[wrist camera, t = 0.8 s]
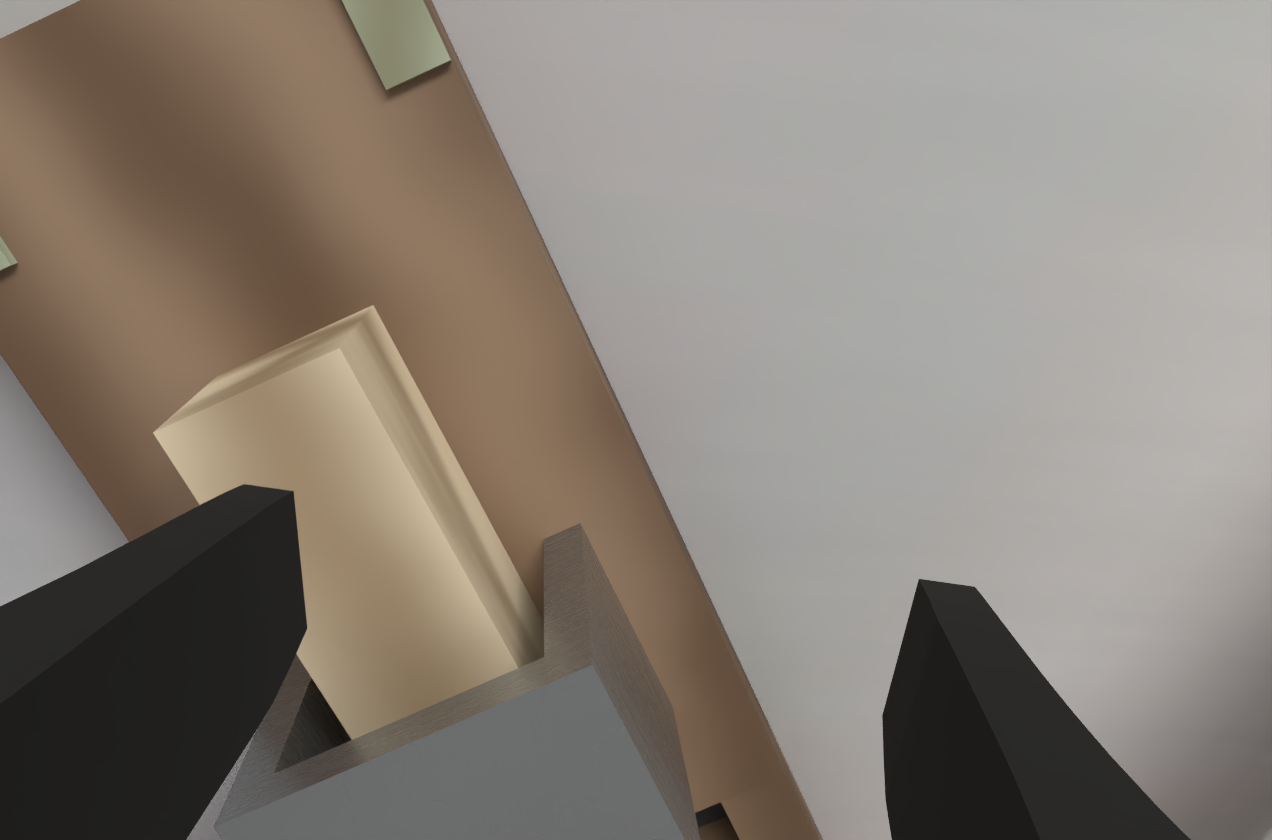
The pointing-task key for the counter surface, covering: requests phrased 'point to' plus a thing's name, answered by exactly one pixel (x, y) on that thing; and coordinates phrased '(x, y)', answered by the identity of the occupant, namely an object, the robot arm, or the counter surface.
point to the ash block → (365, 520)
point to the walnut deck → (336, 298)
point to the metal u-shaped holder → (487, 744)
